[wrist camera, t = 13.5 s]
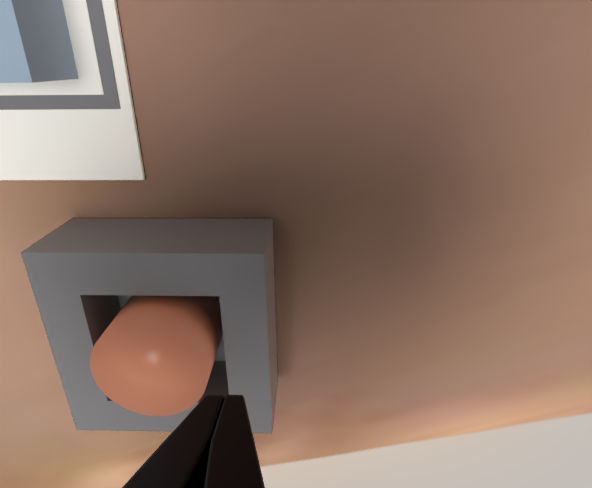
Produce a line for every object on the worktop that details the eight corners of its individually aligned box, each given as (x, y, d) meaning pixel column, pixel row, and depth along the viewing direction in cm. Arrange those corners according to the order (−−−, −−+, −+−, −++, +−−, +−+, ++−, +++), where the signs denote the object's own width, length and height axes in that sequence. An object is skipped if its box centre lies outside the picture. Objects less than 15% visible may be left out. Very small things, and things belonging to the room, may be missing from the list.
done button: (220, 276, 20) (201, 324, 16) (228, 357, 22) (212, 417, 18) (119, 275, 20) (78, 323, 17) (136, 356, 22) (103, 415, 19)
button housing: (272, 218, 20) (264, 253, 16) (278, 377, 24) (272, 433, 21) (72, 218, 20) (20, 252, 17) (111, 374, 25) (76, 429, 21)
